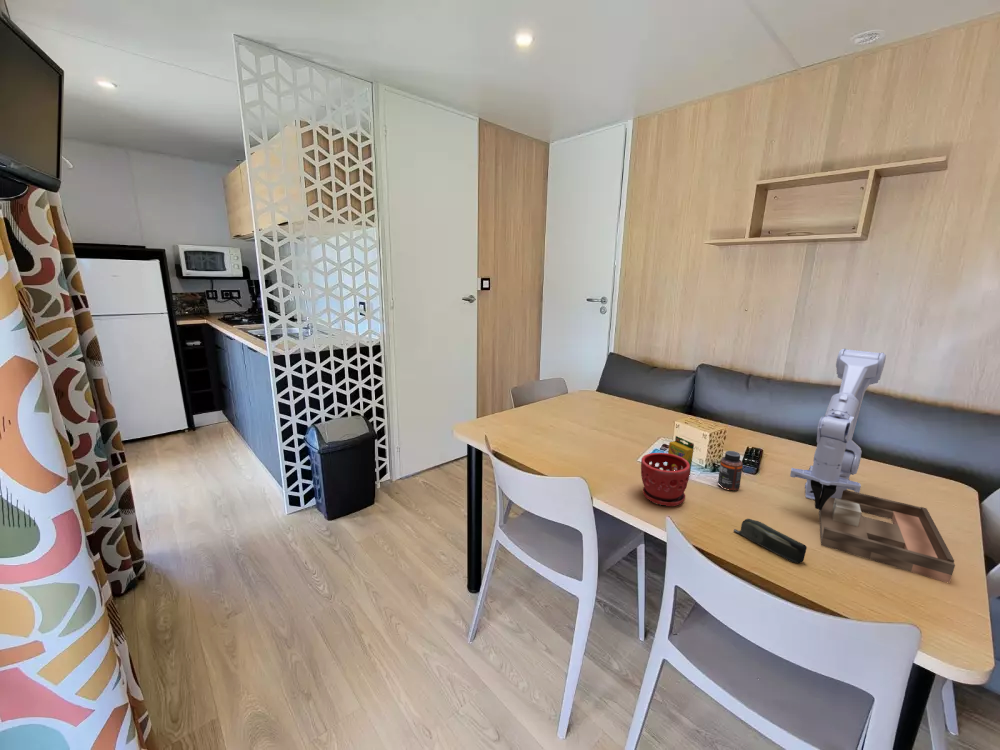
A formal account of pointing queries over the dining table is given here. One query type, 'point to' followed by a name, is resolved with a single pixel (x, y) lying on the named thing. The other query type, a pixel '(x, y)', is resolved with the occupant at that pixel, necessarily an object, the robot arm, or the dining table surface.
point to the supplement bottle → (730, 471)
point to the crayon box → (681, 451)
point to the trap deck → (889, 536)
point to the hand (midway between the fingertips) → (818, 507)
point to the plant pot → (664, 478)
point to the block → (846, 512)
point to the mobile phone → (773, 540)
